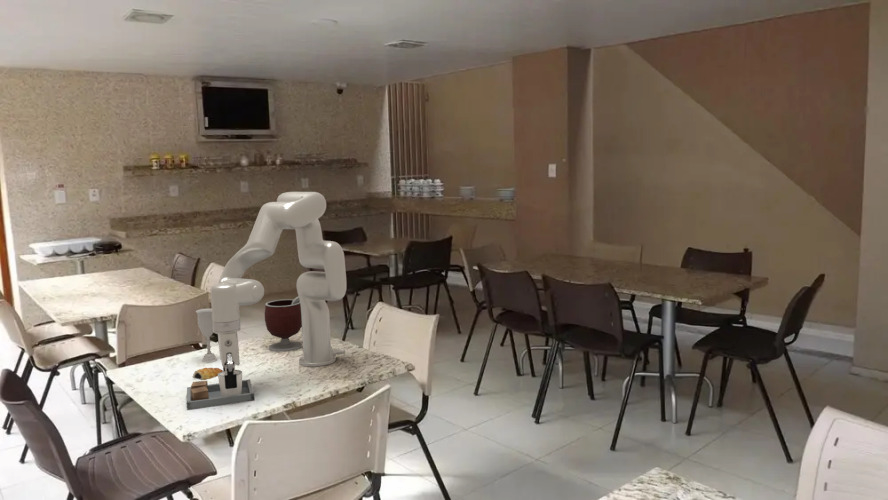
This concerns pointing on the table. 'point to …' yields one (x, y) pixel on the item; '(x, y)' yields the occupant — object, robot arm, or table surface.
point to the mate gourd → (283, 323)
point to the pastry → (207, 373)
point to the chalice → (206, 331)
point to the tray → (216, 397)
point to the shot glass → (233, 390)
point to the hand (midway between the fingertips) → (230, 383)
